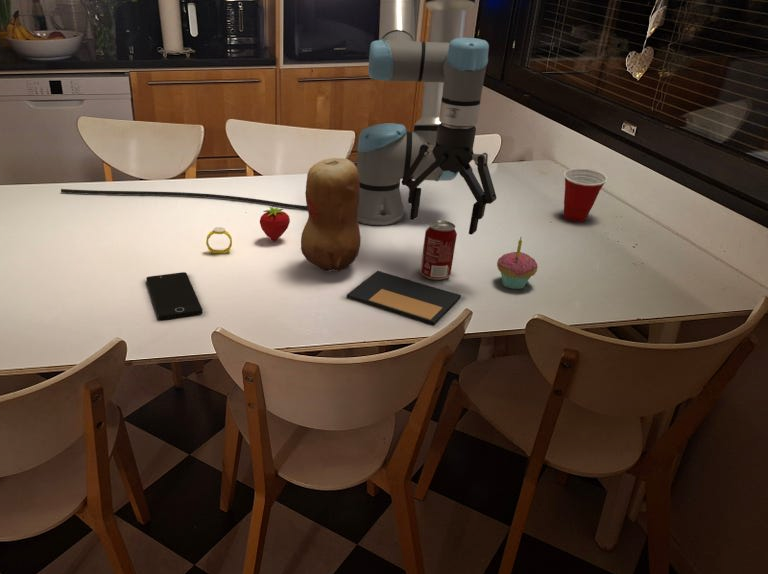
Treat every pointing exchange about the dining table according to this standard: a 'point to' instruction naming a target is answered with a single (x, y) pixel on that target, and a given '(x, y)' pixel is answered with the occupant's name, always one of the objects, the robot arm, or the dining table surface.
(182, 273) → the cell phone
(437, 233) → the soda can
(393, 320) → the dining table surface
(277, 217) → the strawberry
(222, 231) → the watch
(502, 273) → the cupcake
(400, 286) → the mat
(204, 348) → the dining table surface
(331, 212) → the butternut squash
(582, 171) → the plastic cup
